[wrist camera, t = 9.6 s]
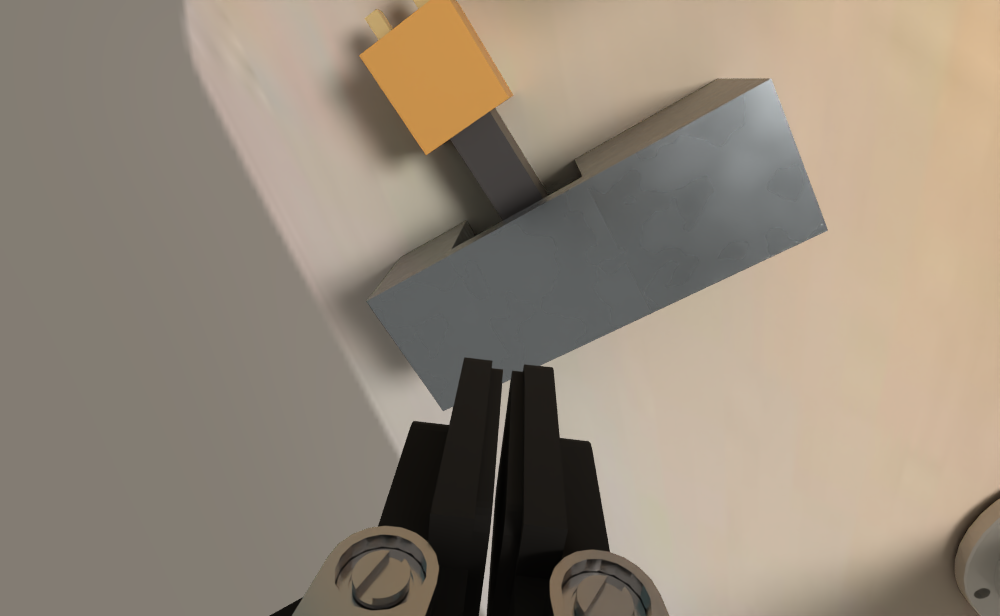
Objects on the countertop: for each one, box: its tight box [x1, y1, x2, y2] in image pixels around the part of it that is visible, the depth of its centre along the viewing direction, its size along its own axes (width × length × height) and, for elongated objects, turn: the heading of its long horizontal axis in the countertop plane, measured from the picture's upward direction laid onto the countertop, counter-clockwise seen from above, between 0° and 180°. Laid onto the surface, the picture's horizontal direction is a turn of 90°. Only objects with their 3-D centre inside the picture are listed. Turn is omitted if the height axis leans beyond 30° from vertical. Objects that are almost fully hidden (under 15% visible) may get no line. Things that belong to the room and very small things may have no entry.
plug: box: [359, 0, 549, 220], centre depth 24 cm, size 4×17×4 cm, turn 33°
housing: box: [366, 79, 828, 411], centre depth 24 cm, size 17×6×6 cm, turn 120°
